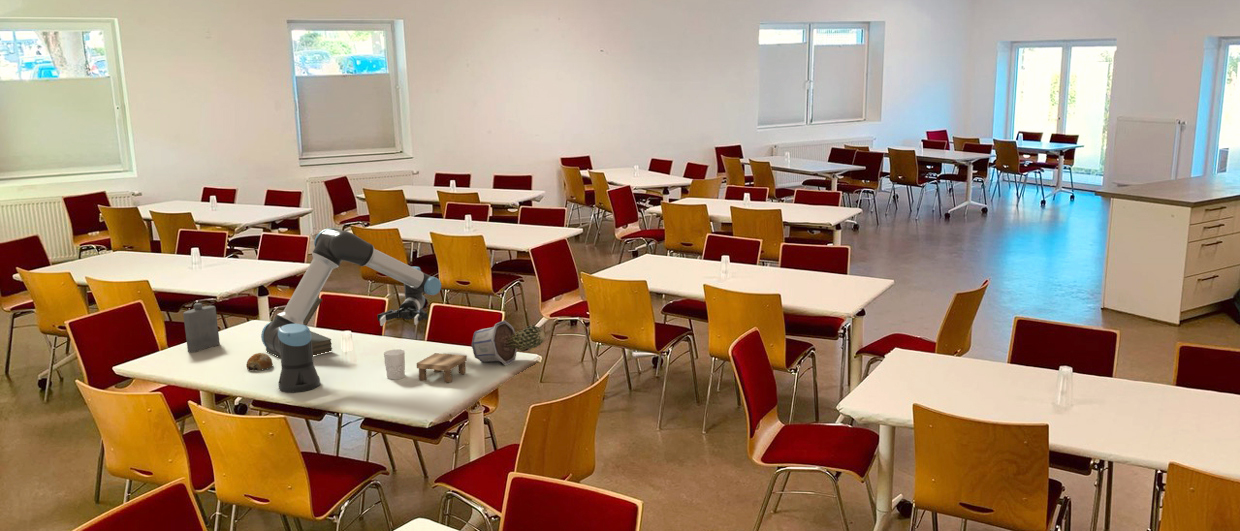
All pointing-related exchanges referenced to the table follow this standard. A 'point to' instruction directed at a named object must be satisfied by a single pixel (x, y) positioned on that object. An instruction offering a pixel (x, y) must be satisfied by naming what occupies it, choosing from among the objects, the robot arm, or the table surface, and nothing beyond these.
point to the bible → (314, 334)
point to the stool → (442, 365)
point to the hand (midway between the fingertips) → (398, 322)
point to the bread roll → (259, 362)
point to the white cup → (395, 363)
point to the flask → (201, 327)
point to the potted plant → (504, 342)
